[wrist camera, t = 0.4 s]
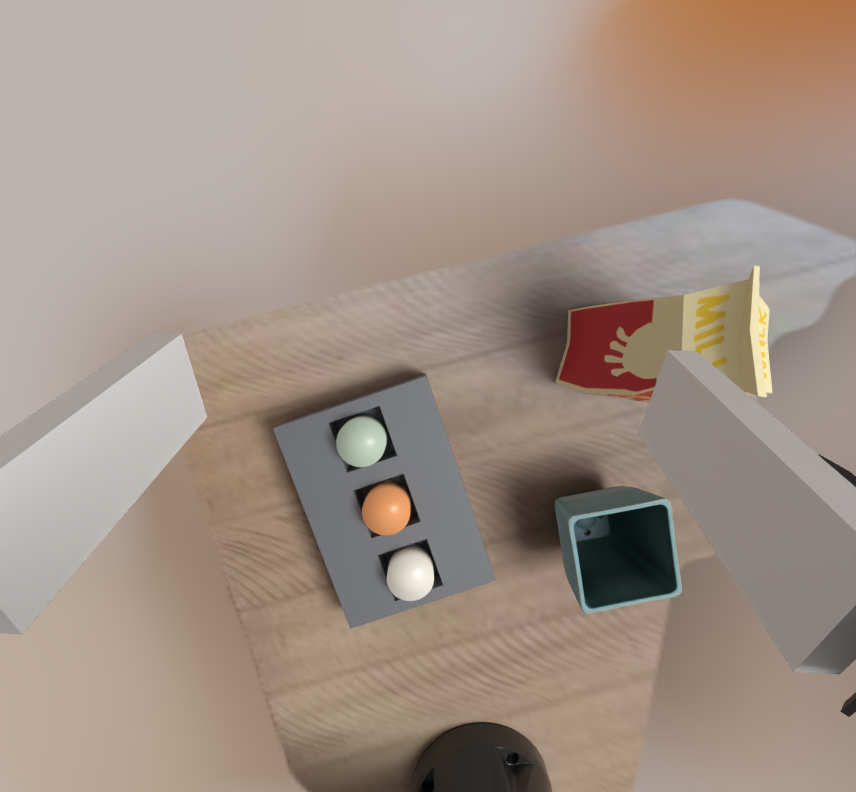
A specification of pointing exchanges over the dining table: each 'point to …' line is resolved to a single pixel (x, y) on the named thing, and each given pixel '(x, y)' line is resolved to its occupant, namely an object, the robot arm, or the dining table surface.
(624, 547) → the flower pot
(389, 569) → the cream button
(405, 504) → the orange button
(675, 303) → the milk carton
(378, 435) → the sage button
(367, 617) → the button panel
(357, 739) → the dining table surface
